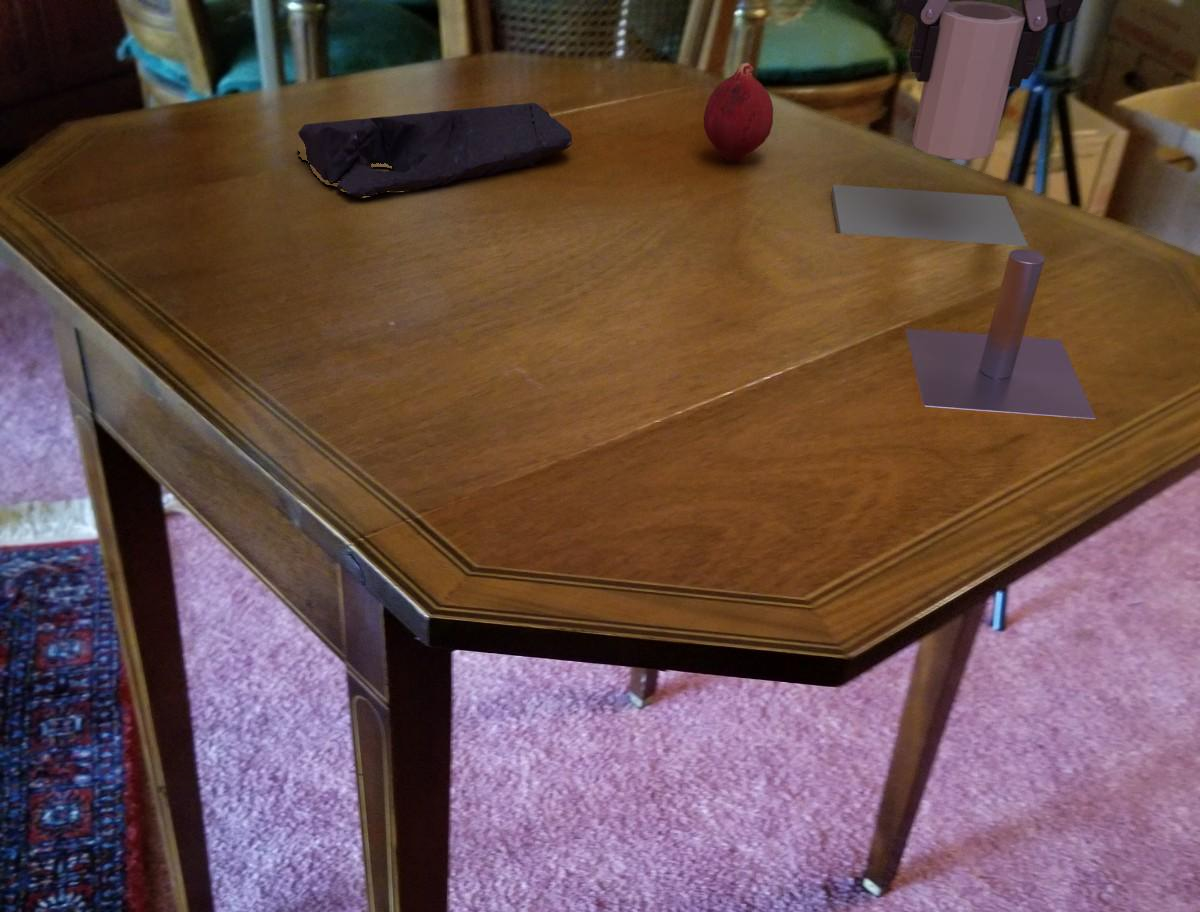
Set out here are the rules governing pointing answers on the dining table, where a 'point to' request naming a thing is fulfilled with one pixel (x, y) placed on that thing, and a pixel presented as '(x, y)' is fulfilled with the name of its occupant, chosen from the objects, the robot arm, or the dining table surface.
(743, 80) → the onion
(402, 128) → the black folded cloth
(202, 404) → the dining table surface
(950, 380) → the roll stand
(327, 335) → the dining table surface
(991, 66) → the paper roll
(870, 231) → the mat
